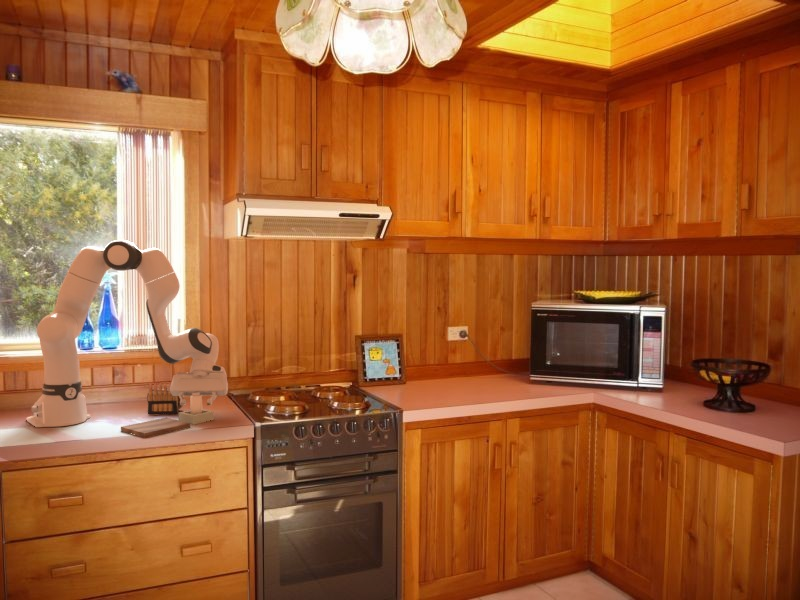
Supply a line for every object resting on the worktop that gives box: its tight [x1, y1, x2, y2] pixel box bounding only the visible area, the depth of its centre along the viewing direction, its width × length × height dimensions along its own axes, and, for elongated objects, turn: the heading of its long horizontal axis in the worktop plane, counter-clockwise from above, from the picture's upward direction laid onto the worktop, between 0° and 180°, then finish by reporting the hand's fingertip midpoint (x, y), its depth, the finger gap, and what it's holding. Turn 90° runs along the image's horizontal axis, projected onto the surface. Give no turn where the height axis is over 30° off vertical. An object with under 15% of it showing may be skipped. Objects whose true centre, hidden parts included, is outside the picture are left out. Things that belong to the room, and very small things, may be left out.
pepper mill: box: [189, 392, 203, 415], centre depth 231 cm, size 4×4×10 cm
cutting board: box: [120, 416, 191, 439], centre depth 219 cm, size 14×17×2 cm
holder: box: [178, 408, 215, 425], centre depth 231 cm, size 9×9×3 cm
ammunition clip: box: [147, 381, 179, 415], centre depth 242 cm, size 11×2×12 cm, turn 95°
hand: (195, 404), depth 230 cm, fingers open, 8 cm apart
